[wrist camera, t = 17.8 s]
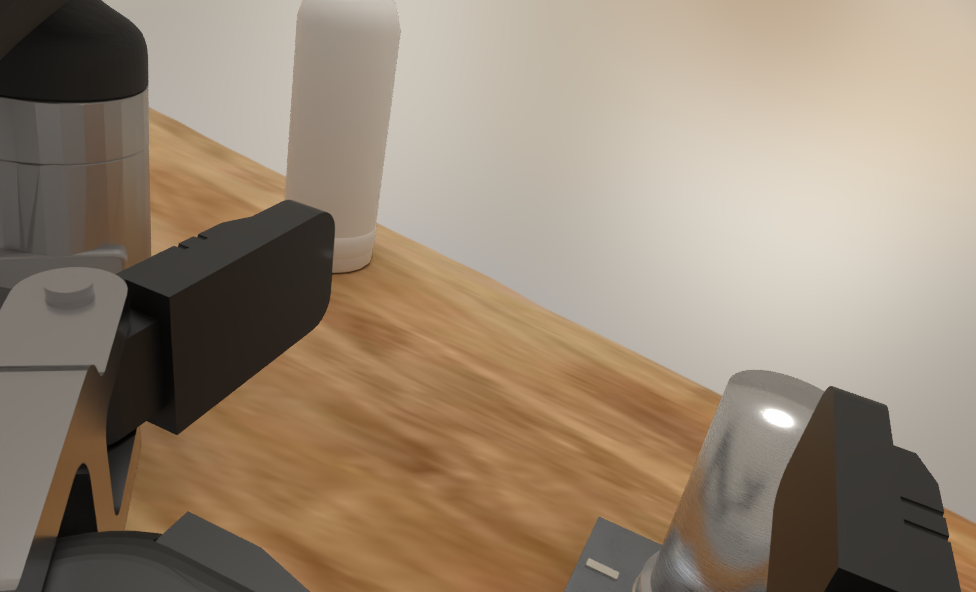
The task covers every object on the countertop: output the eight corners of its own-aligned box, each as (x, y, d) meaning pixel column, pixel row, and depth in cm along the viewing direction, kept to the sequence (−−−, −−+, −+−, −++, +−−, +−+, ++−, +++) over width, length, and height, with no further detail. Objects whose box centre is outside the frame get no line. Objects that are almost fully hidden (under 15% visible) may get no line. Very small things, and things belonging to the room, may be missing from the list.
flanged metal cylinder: (789, 650, 34) (905, 443, 28) (692, 692, 31) (801, 470, 25) (701, 552, 38) (787, 358, 33) (609, 580, 35) (687, 372, 30)
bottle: (383, 248, 68) (432, -117, 55) (356, 282, 61) (406, -127, 48) (300, 228, 68) (329, -139, 55) (264, 260, 61) (288, -152, 48)
